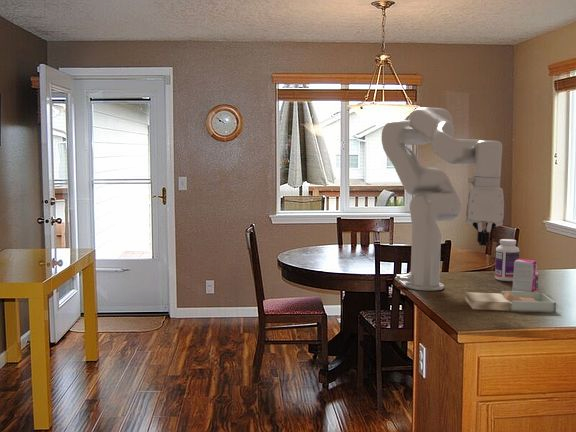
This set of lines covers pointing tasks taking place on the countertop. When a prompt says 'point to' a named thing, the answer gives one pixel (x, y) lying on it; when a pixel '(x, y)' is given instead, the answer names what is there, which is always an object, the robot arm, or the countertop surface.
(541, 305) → the tray
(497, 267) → the pill bottle
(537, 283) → the pill bottle
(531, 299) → the tile
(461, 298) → the countertop surface
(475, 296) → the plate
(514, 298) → the tile
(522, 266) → the supplement box
